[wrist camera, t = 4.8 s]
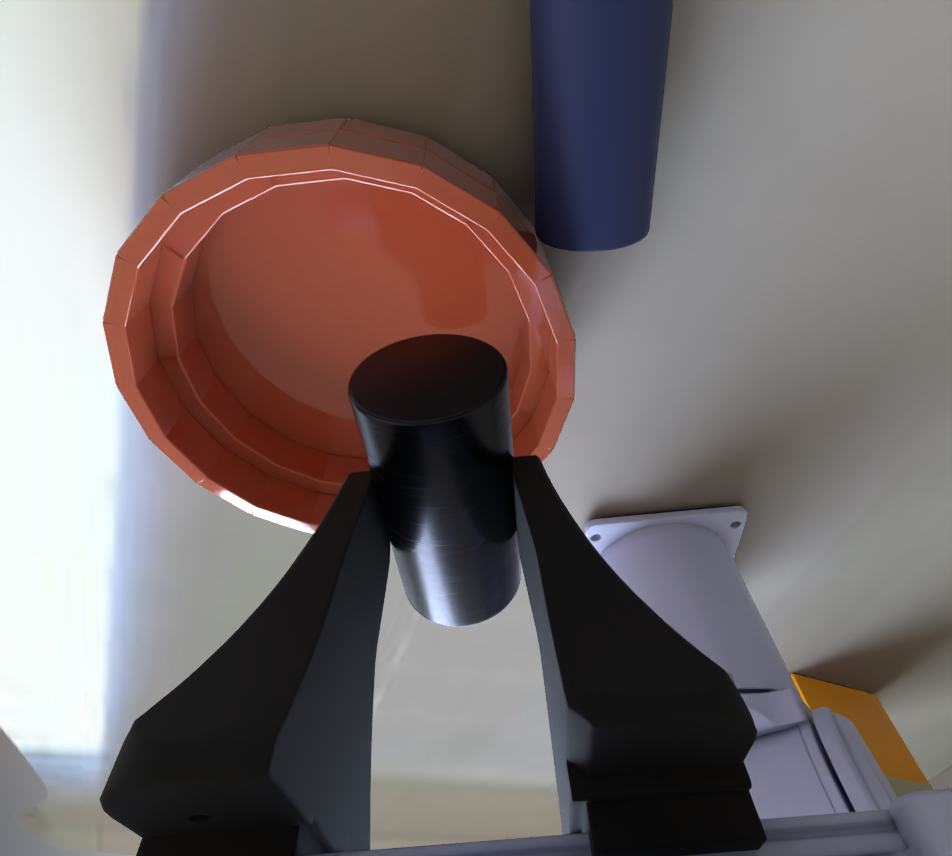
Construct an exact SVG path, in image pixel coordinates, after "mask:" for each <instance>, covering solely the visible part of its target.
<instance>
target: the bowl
mask: <svg viewBox="0 0 952 856" xmlns="http://www.w3.org/2000/svg"><path fill="white" fill-rule="evenodd" d="M103 327H104V331H105V336H106V340H107V345H108V350H109V354H110V359H111V364H112V368H113V373H114V378H115V382H116V385H117V388H118V389H119V391H120V393H121V394H122V396H123V398H124V399H125V401H126V402H127V404H128V406H129V407H130V409H131V411H132V412H133V414H134V416H135V417H136V419H137V420H138V422H139V424H140V425H141V427H142V429H143V430H144V432H145V434H146V435H147V437H148V438H149V440H151V442H152V443H153V444H154V445H155V446H156V447H157V448H158V449H160V450H161V451H162V452H163V453H164V454H165V455H166V456H167V457H168V458H169V459H170V460H171V461H172V462H174V463H175V464H176V465H177V466H178V467H179V468H180V469H181V470H182V471H183V472H184V473H185V474H186V475H188V476H189V477H190V478H191V479H192V480H193V481H194V482H195V483H198V485H199V486H201V487H203V488H205V489H206V490H208V491H210V492H212V493H213V494H215V495H217V496H219V497H221V498H222V499H224V500H226V501H228V502H229V503H231V504H233V505H235V506H236V507H238V508H240V509H242V510H243V511H245V512H247V513H249V514H251V515H253V516H256V517H259V518H262V519H265V520H268V521H271V522H275V523H278V524H281V525H284V526H287V527H290V528H293V529H296V530H300V531H303V532H306V533H308V532H309V533H312V534H313V533H314V532H315V530H316V529H317V527H318V526H319V524H320V522H321V521H322V519H323V518H324V516H325V514H326V513H327V511H328V509H329V508H330V506H331V504H332V503H333V501H334V499H335V497H336V496H337V494H338V492H339V490H340V488H341V487H342V485H343V483H344V481H345V479H346V477H347V476H348V475H349V474H350V473H351V472H361V471H370V469H369V466H368V462H367V459H366V455H365V452H364V449H363V445H362V442H361V438H360V435H359V431H358V428H357V425H356V421H355V418H354V414H353V411H352V407H351V404H350V400H349V397H348V384H349V380H350V377H351V375H352V373H353V371H354V370H355V369H356V367H357V366H358V365H359V364H360V363H361V362H362V361H363V360H364V359H365V358H367V357H368V356H369V355H371V354H372V353H374V352H375V351H377V350H379V349H381V348H383V347H385V346H387V345H389V344H392V343H395V342H397V341H400V340H404V339H407V338H411V337H416V336H422V335H429V334H457V335H464V336H469V337H473V338H476V339H480V340H482V341H484V342H487V343H488V344H490V345H492V346H493V347H495V348H496V349H497V350H498V351H499V352H500V353H501V354H502V356H503V357H504V359H505V361H506V363H507V366H508V373H509V388H510V404H511V420H512V436H513V452H514V457H518V456H529V455H537V456H538V457H539V458H540V459H541V462H543V460H544V459H545V458H546V457H547V456H548V455H549V454H550V452H551V451H552V449H554V447H555V444H556V442H557V439H558V437H559V435H560V432H561V430H562V427H563V425H564V422H565V420H566V418H567V415H568V413H569V410H570V408H571V405H572V403H573V400H574V391H575V350H576V339H575V334H574V331H573V329H572V326H571V323H570V320H569V318H568V315H567V312H566V309H565V306H564V304H563V301H562V298H561V295H560V293H559V290H558V287H557V284H556V281H555V279H554V276H553V273H552V270H551V268H550V265H549V262H548V259H547V257H546V254H545V251H544V248H543V246H542V243H541V241H540V240H539V239H538V238H537V236H536V232H535V228H534V227H533V226H532V225H531V223H530V222H529V221H528V220H527V218H526V217H525V216H524V215H523V214H522V212H521V211H520V210H519V209H518V207H517V206H516V205H515V204H514V202H513V201H512V200H511V199H510V198H509V196H508V195H507V194H506V193H505V191H504V190H503V189H502V188H501V186H500V185H499V184H498V183H497V182H496V180H495V179H494V178H491V176H490V175H488V174H487V173H485V172H484V171H482V170H480V169H479V168H477V167H476V166H474V165H472V164H471V163H469V162H468V161H466V160H464V159H463V158H461V157H460V156H458V155H456V154H455V153H453V152H452V151H450V150H448V149H447V148H445V147H444V146H442V145H441V144H439V143H437V142H436V141H434V140H433V139H431V138H426V136H424V135H421V134H417V133H412V132H408V131H404V130H400V129H396V128H391V127H387V126H383V125H379V124H375V123H370V122H366V121H362V120H358V119H354V118H350V119H349V120H348V118H336V119H328V120H319V121H310V122H301V123H292V124H284V125H275V126H272V127H270V128H266V129H264V130H262V131H260V132H258V133H256V134H254V135H253V136H251V137H249V138H247V139H245V140H243V141H241V142H240V143H238V144H236V145H234V146H232V147H230V148H229V149H227V150H225V151H223V152H221V153H219V154H217V155H216V156H214V157H212V158H210V159H208V160H207V161H205V162H204V163H203V164H201V165H200V166H199V167H197V168H196V169H195V170H193V171H192V172H191V173H189V174H188V175H186V176H185V177H184V178H182V179H181V180H180V181H178V182H177V183H176V184H174V185H173V186H171V187H170V188H169V189H167V190H166V191H165V192H164V193H163V194H161V195H160V196H159V197H158V199H157V200H156V201H155V203H154V204H153V205H152V207H151V208H150V209H149V210H148V212H147V213H146V214H145V216H144V217H143V218H142V220H141V221H140V222H139V224H138V225H137V226H136V228H135V229H134V230H133V232H132V233H131V234H130V236H129V237H128V238H127V240H126V241H125V242H124V244H123V245H122V246H121V248H120V249H119V250H118V252H117V255H116V257H115V262H114V267H113V272H112V277H111V282H110V287H109V292H108V297H107V302H106V307H105V312H104V317H103Z"/></svg>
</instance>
